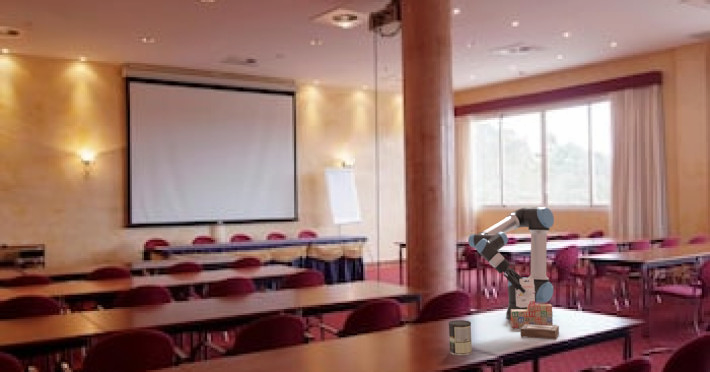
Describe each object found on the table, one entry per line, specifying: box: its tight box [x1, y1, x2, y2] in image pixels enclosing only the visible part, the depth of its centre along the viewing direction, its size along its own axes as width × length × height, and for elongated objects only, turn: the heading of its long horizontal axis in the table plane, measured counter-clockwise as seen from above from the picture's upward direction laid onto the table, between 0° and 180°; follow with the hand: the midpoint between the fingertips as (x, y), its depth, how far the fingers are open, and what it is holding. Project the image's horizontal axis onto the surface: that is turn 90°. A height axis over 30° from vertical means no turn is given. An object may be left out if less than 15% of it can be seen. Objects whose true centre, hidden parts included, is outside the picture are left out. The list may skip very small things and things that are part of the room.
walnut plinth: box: [520, 324, 560, 340], centre depth 325 cm, size 13×17×4 cm
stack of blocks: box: [510, 302, 554, 329], centre depth 345 cm, size 21×6×12 cm, turn 83°
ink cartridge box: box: [515, 277, 536, 307], centre depth 327 cm, size 9×5×15 cm, turn 104°
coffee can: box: [448, 319, 473, 356], centre depth 294 cm, size 10×10×14 cm
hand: (531, 295), depth 325 cm, fingers closed on ink cartridge box, 9 cm apart
